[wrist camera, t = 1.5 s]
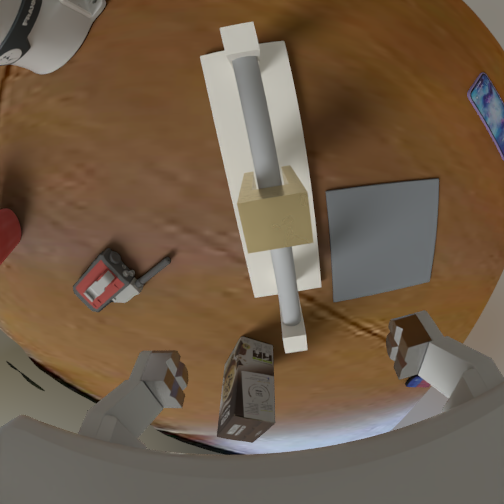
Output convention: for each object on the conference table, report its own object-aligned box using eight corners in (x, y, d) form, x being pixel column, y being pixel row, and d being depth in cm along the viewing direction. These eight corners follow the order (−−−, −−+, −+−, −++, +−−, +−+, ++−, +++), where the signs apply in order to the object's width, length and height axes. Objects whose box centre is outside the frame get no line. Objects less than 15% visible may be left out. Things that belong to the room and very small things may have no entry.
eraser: (437, 373, 55) (440, 378, 54) (427, 383, 57) (430, 388, 55) (412, 371, 53) (415, 376, 52) (402, 382, 55) (404, 387, 53)
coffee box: (239, 334, 47) (233, 415, 32) (273, 344, 48) (277, 423, 33) (223, 364, 51) (215, 437, 36) (254, 372, 52) (252, 444, 37)
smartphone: (483, 70, 23) (520, 138, 27) (480, 70, 24) (517, 137, 28) (467, 94, 26) (506, 164, 30) (464, 94, 27) (503, 163, 31)
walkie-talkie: (108, 314, 46) (177, 259, 40) (98, 330, 42) (169, 275, 37) (75, 282, 43) (137, 216, 37) (63, 295, 39) (124, 228, 33)
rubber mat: (325, 191, 35) (326, 191, 34) (437, 178, 33) (438, 179, 33) (333, 300, 43) (333, 302, 43) (428, 280, 41) (429, 281, 41)
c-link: (244, 173, 29) (236, 203, 19) (290, 165, 29) (307, 191, 19) (251, 207, 31) (248, 253, 21) (295, 200, 30) (313, 242, 21)
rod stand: (201, 58, 27) (165, 23, 14) (283, 43, 26) (300, -3, 13) (254, 293, 42) (253, 367, 29) (319, 282, 41) (341, 354, 28)
